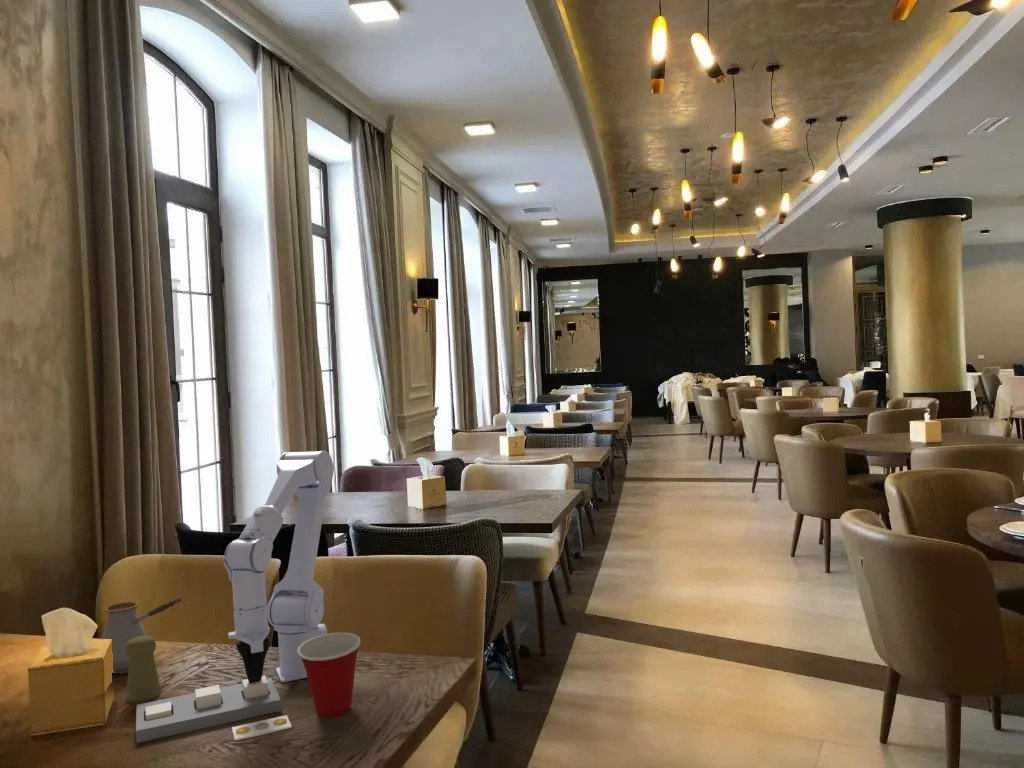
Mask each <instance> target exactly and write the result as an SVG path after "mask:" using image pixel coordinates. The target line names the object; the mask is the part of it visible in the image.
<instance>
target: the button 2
mask: <svg viewBox="0 0 1024 768" xmlns="http://www.w3.org/2000/svg"><path fill="white" fill-rule="evenodd" d="M266 678H267V677H266V675H262V679H261V681H257V682H252V683H249V681H248V678H246V679H242V680H241V681H242V682H241V683H242V686H243V695H244V699H249V698H254V697H259V696H263V695H268V694H269V691H268V682H267V679H266Z"/></svg>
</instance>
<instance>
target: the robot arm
mask: <svg viewBox="0 0 1024 768" xmlns="http://www.w3.org/2000/svg"><path fill="white" fill-rule="evenodd" d="M332 458H333V457H332V456H331V454H330V453H329V452H328V451H326V450H319V451H318V450H317V451H292V452H291V451H285V452H283V453H282V454H281V456H280V457H279V459H278V462H277V464H276V475H277V478H276V479H275V481H274V485H273V486H272V488H271V490H270V492H269V495H268V497H267V499H266V502H265V504H264V505H262V506H259V507H257V508H255V510H254V512H252V515H251V516H250V518H249V520H248V521H247V524H246V525H245V527H244V529H243V531H242V532H241V534H240V536H239V537H238V538H237V539H234V540H232V541H231V542H229V544H228V545H227V546H226V549H225V550H224V556H223V558H222V561H223V565H224V568H225V569H226V571H227V574H228V580H229V581H230V582H231V584H232V586H231V587H232V601H233V602H232V603H233V619H234V631H230V632H228V633H227V637H228V639H229V640H233V639H236V640H238V641H236V642H235V643H234V645H235V647H236V649H237V651H238V653H239V655H240V657H241V658H242V662H243V665H244V670H245V671H244V672H245V674H246V677H247V678H246V679H248V681H249V683H252V682H257V681H261V679H262V676H263V673H264V664H265V660H266V655H267V652H268V651H269V648H270V646H271V642H270V639H269V637H268V635H269V634H270V632H271V631H270V627H269V624H270V625H271V626H273V630H274V631H276V632H277V638H278V639H277V640H278V658H279V659H278V660H279V667H276V668H275V671H276V673H277V676H278V678H279V680H280V682H281V683H288V682H292V681H297V680H303V679H308V677H307V673H306V669H305V667H304V663H303V662H302V659H301V657H300V656H299V655H298V653H297V652H298V647H299V646H300V645H301V644H302V643H304V642H306V641H308V640H309V639H311V638H314V637H317V636H320V635H324V634H328V630H327V626H326V624H325V623H321V621H322V620H323V618H324V617H323V616H324V614H325V613H324V611H325V603H324V593H325V591H324V588H322V586H321V585H320V584H318V582H317V581H315V579H314V574H315V568H316V561H317V555H318V551H319V550H318V549H319V544H320V536H321V532H322V531H321V530H322V524H323V520H324V519H323V517H324V512H325V507H326V506H325V505H326V499H327V496H328V495H329V494H330V493H331V489H332V483H333V478H334V472H335V465H334V462H333V460H332ZM294 496H296V497H298V501H299V503H298V508H297V514H296V520H295V526H294V530H293V531H294V532H293V537H292V543H291V549H290V554H289V561H288V567H287V572H286V577H284V578H283V579H282V580H280V581H279V582H277V584H275V585H274V587H273V590H272V591H273V592H272V594H271V597H270V599H269V601H268V600H267V599H268V597H267V584H266V583H267V582H266V569H267V568H268V566H269V565H270V564H271V561H272V552H273V549H274V544H273V542H274V540H275V539H276V537H277V536H278V533H279V531H280V530H281V528H282V526H283V524H284V517H283V515H282V513H283V512H284V510H285V509H286V507H287V506H288V505H289V503H290V502H291V500H292V498H293V497H294ZM267 601H268V602H267Z"/></svg>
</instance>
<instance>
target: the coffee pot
mask: <svg viewBox="0 0 1024 768" xmlns="http://www.w3.org/2000/svg"><path fill="white" fill-rule="evenodd" d="M180 602H182V603H183V606H182V607H179V606H178V603H180ZM139 605H140V604H139V603H138V602H136V601H128V602H127V601H125V602H119V603H115V604H112V605H108V606H106V607H104V612H105V613H106V614H107V617H108V620H107V622H106V625H105V627H104V630H103V633H102V635H101V637H100V640H101V639H112V653H113V670H114V674H113V675H118V674H117V673H120V674H126V673H128V669H129V656H128V655H127V653H126V644H127V642H128V641H129V640H131V639H132V638H135V637H139V636H149V635H148V633H147V632H146V630H145V628H144V626H143V624H142V623H141V621H144V620H145V619H147V618H149V617H151V616H154V615H157V614H159V613H162V612H164V611H166V610H167V609H168V608H172V607H174V606H175V607H176V608H177V609H181V610H182V609H183V608H184V607H185V601H184V599H181V598H176V599H174V600H170V601H168V602H167V603H163V604H161V605H159V606H157V607H156V608H154V609H152V610H150V611H148V612H147V613H145V614H141V615H140V616H137V608H138V607H139ZM115 673H116V674H115Z"/></svg>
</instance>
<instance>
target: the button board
mask: <svg viewBox="0 0 1024 768" xmlns="http://www.w3.org/2000/svg"><path fill="white" fill-rule="evenodd" d="M266 679H267V682H268V691H269V694H268V695H263V696H259V697H254V698H249V699H244V695H243V686H242V682H241V683H236V684H234V685H228V686H222V687H219V688H220V692H221V705H216V706H212V707H207V708H202V709H196V700H195V692H194V693H193V692H192V693H188V694H183V695H179V696H173V697H168V698H164V699H159V700H154V701H149V702H144V703H139V704H136V710H135V711H136V712H135V713H136V714H135V716H136V718H135V721H136V722H135V738H136V744H139V743H144V742H147V741H151V740H152V741H153V740H157V739H158V740H159V739H161V738H162V739H163V738H167V737H170V736H176V735H178V734H179V735H180V734H183V733H188V732H193V731H197V730H201V729H202V730H203V729H207V728H212V727H216V726H219V725H224V724H229V723H234V722H238V720H239V721H243V720H247V718H248V719H252V718H256V717H255V716H257V717H260V716H259V715H261V716H265V715H264V714H266V715H269V714H268V713H270V714H273V712H275V713H279V712H282V701H281V697H280V695H279V692H278V690H277V688H276V685H275V683H274V681H273V679H272V677H268V678H267V677H266ZM167 702H171V711H172V715H169V716H164V717H160V718H155V719H150V720H146V707H148V706H153V705H158V704H162V703H167ZM251 717H252V718H251ZM242 719H243V720H242Z"/></svg>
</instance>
